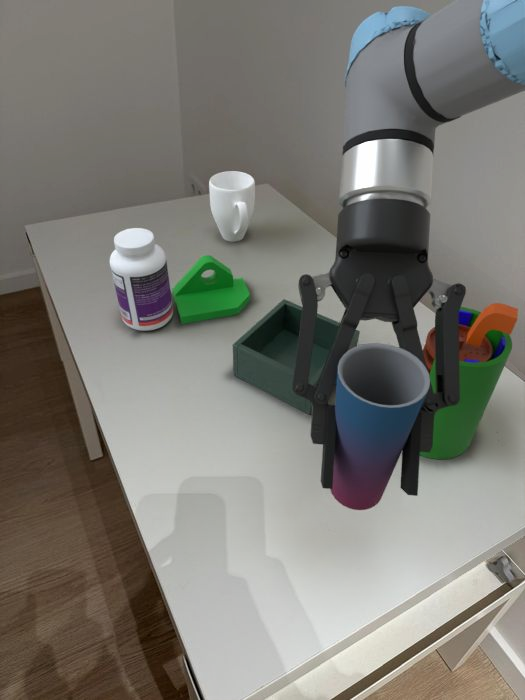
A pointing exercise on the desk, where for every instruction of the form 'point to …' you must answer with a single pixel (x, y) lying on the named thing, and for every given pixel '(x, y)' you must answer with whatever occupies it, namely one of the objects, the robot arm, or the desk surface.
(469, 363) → the coaster caddy
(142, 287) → the pill bottle
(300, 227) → the desk surface
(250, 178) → the mug
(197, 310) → the bracket
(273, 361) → the holder
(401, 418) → the cup
